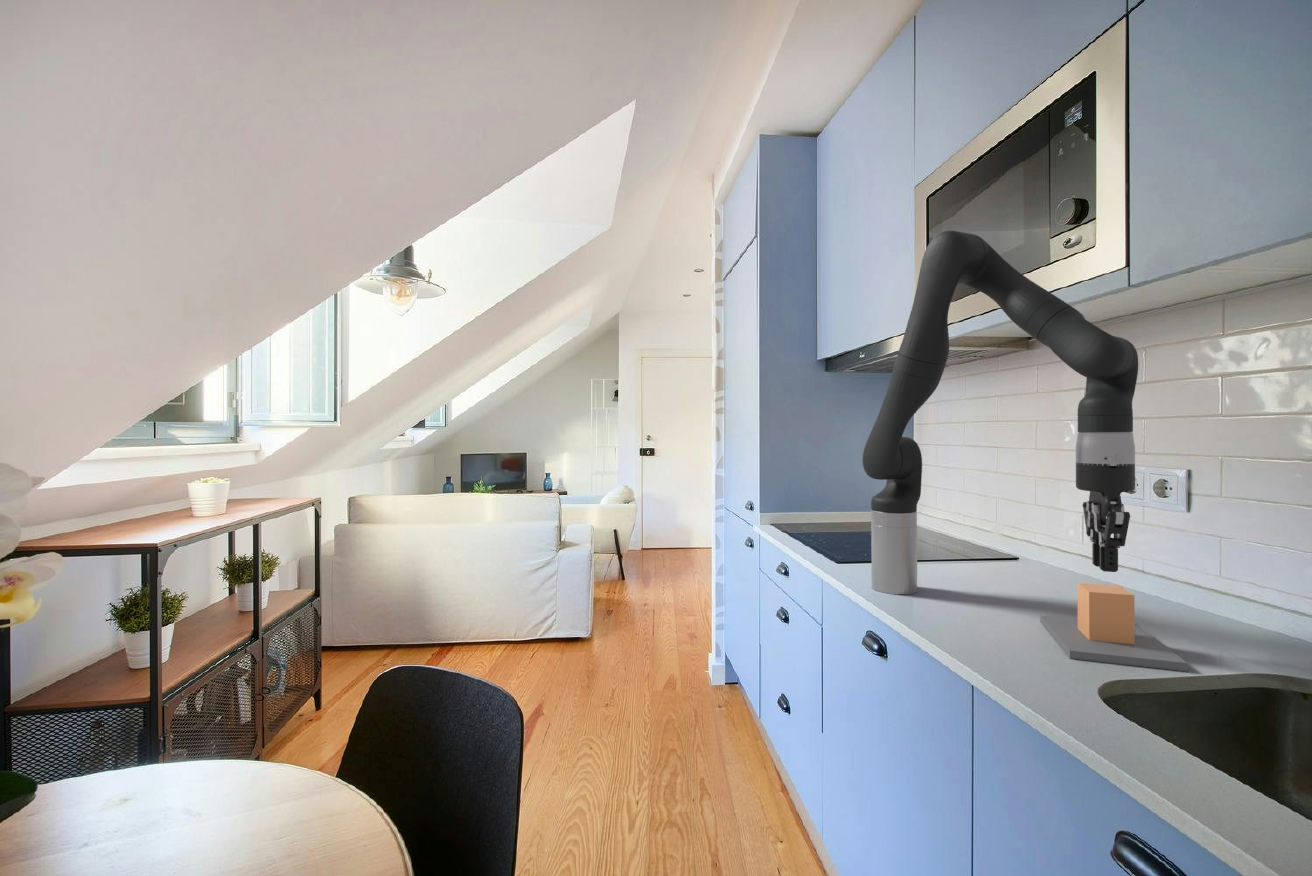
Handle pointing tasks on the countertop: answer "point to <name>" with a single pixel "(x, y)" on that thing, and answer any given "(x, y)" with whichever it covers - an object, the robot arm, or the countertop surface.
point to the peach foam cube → (1106, 613)
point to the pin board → (1112, 646)
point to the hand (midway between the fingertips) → (1105, 568)
